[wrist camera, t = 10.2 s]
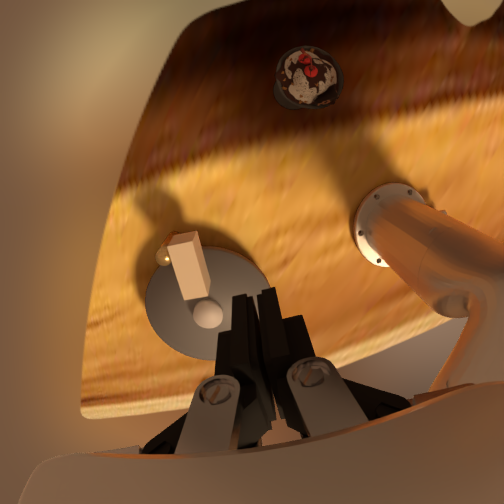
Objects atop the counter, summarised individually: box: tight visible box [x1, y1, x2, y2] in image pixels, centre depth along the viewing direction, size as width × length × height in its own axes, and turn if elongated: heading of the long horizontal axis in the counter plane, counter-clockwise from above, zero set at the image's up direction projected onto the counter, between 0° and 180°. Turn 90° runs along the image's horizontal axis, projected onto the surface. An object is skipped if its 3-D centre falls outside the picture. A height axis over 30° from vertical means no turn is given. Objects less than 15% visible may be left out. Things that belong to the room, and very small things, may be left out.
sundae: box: [273, 46, 344, 110], centre depth 27 cm, size 7×7×15 cm
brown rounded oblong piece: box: [155, 231, 180, 266], centre depth 40 cm, size 8×15×7 cm, turn 10°
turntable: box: [145, 231, 271, 360], centre depth 40 cm, size 20×18×6 cm
